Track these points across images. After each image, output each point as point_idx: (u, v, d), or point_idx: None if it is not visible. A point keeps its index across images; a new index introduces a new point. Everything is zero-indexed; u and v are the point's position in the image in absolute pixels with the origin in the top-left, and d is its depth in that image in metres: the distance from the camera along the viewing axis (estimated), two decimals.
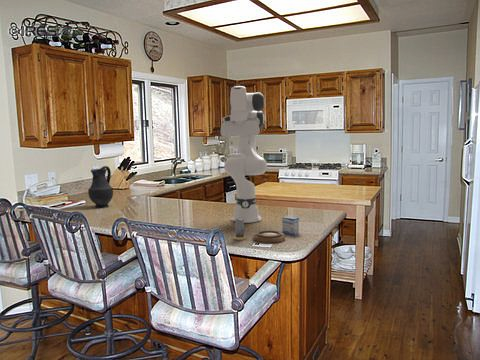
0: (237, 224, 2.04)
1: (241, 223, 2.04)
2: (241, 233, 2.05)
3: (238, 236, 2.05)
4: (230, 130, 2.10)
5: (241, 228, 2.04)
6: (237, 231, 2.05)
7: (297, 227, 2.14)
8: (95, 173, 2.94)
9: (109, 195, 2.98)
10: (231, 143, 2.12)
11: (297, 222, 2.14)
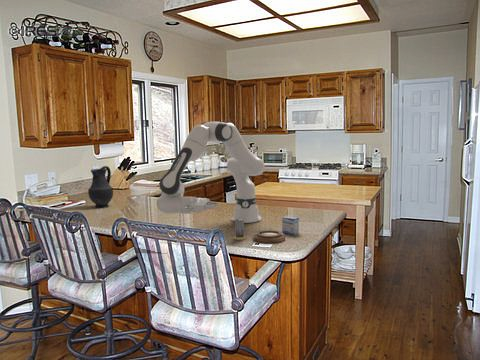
0: (237, 224, 2.04)
1: (241, 223, 2.04)
2: (241, 233, 2.05)
3: (238, 236, 2.05)
4: None
5: (241, 228, 2.04)
6: (237, 231, 2.05)
7: (297, 227, 2.14)
8: (95, 173, 2.94)
9: (109, 195, 2.98)
10: (215, 205, 2.11)
11: (297, 222, 2.14)
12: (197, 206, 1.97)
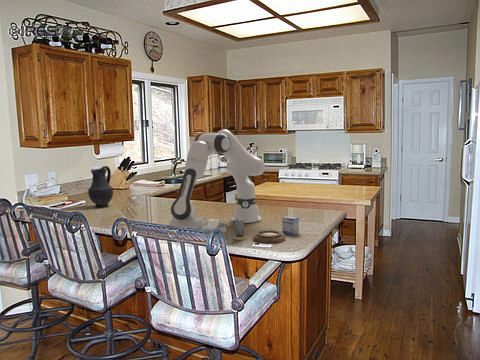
0: (237, 224, 2.04)
1: (241, 223, 2.04)
2: (241, 233, 2.05)
3: (238, 236, 2.05)
4: None
5: (241, 228, 2.04)
6: (237, 231, 2.05)
7: (297, 227, 2.14)
8: (95, 173, 2.94)
9: (109, 195, 2.98)
10: None
11: (297, 222, 2.14)
12: (209, 229, 1.98)
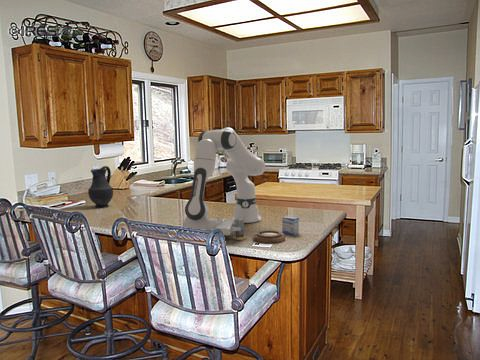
0: (237, 224, 2.04)
1: (241, 223, 2.04)
2: (241, 233, 2.05)
3: (238, 236, 2.05)
4: None
5: (241, 228, 2.04)
6: (237, 231, 2.05)
7: (297, 227, 2.14)
8: (95, 173, 2.94)
9: (109, 195, 2.98)
10: None
11: (297, 222, 2.14)
12: (224, 229, 1.97)
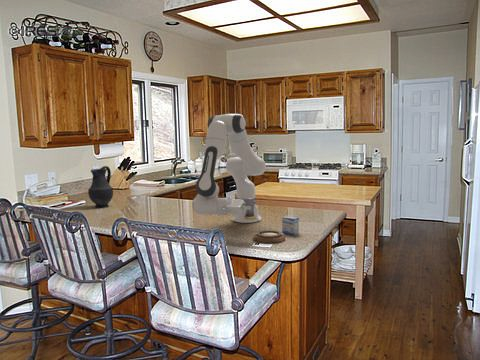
0: (247, 203, 2.02)
1: (251, 202, 2.02)
2: (251, 212, 2.03)
3: (248, 215, 2.03)
4: None
5: (251, 207, 2.03)
6: (247, 210, 2.03)
7: (297, 227, 2.14)
8: (95, 173, 2.94)
9: (109, 195, 2.98)
10: None
11: (297, 222, 2.14)
12: (234, 208, 1.95)
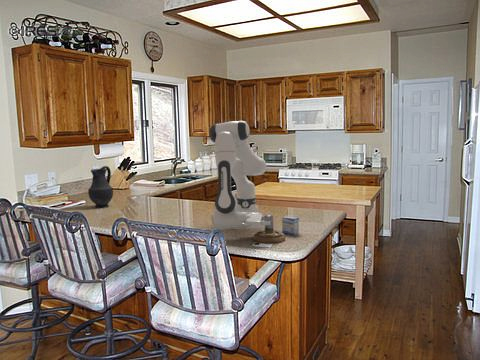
0: (267, 220, 2.02)
1: (271, 219, 2.02)
2: (271, 229, 2.03)
3: (268, 232, 2.03)
4: None
5: (271, 224, 2.03)
6: (267, 227, 2.03)
7: (297, 227, 2.14)
8: (95, 173, 2.94)
9: (109, 195, 2.98)
10: None
11: (297, 222, 2.14)
12: (254, 222, 1.95)
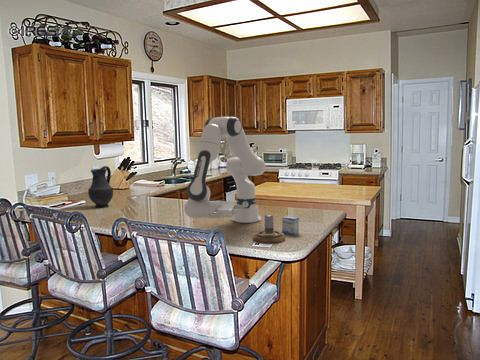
0: (267, 220, 2.02)
1: (271, 219, 2.02)
2: (271, 229, 2.03)
3: (268, 232, 2.03)
4: None
5: (271, 224, 2.03)
6: (267, 227, 2.03)
7: (297, 227, 2.14)
8: (95, 173, 2.94)
9: (109, 195, 2.98)
10: None
11: (297, 222, 2.14)
12: (226, 211, 1.98)
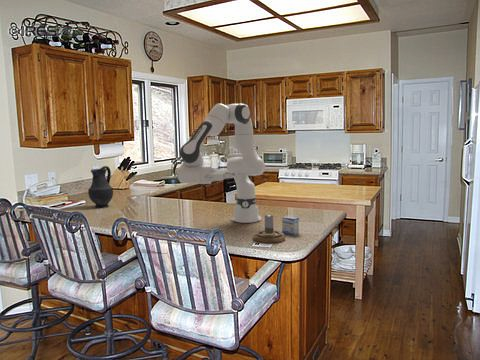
0: (267, 220, 2.02)
1: (271, 219, 2.02)
2: (271, 229, 2.03)
3: (268, 232, 2.03)
4: None
5: (271, 224, 2.03)
6: (267, 227, 2.03)
7: (297, 227, 2.14)
8: (95, 173, 2.94)
9: (109, 195, 2.98)
10: (233, 175, 2.14)
11: (297, 222, 2.14)
12: (216, 175, 2.00)
